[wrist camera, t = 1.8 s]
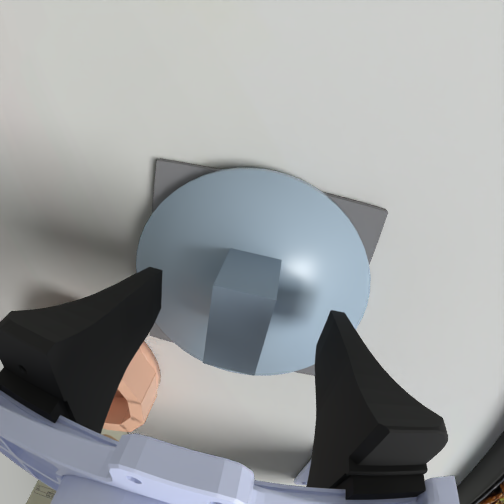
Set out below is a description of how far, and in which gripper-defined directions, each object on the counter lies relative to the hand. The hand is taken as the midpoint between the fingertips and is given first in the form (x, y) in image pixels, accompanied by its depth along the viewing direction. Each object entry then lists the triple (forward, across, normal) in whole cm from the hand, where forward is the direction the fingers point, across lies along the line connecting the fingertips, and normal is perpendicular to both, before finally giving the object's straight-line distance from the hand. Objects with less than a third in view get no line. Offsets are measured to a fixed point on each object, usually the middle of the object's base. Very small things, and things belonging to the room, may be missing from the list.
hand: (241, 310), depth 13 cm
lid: (+2, 0, 0) cm, 2 cm away
